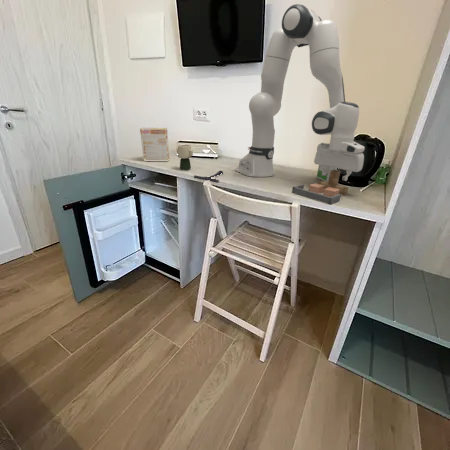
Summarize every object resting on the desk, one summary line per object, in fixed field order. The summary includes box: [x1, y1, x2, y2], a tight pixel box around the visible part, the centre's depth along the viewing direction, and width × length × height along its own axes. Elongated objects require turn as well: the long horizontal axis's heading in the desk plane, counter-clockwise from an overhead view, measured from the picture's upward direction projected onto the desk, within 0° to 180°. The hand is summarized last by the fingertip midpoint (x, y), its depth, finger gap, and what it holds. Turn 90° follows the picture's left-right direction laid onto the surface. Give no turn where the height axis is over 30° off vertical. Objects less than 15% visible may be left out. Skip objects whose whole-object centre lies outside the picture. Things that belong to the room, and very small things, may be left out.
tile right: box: [322, 187, 340, 197], centre depth 109 cm, size 4×4×3 cm
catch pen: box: [291, 183, 342, 205], centre depth 107 cm, size 18×7×2 cm, turn 41°
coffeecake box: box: [139, 127, 170, 160], centre depth 160 cm, size 15×7×20 cm, turn 91°
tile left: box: [308, 183, 324, 194], centre depth 113 cm, size 4×4×3 cm
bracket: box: [193, 170, 224, 183], centre depth 132 cm, size 14×15×3 cm
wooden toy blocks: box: [316, 170, 349, 196], centre depth 114 cm, size 13×3×9 cm, turn 41°
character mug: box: [176, 144, 194, 170], centre depth 143 cm, size 11×7×13 cm, turn 59°
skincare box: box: [316, 165, 337, 182], centre depth 129 cm, size 8×7×16 cm
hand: (334, 178), depth 113 cm, fingers open, 8 cm apart
